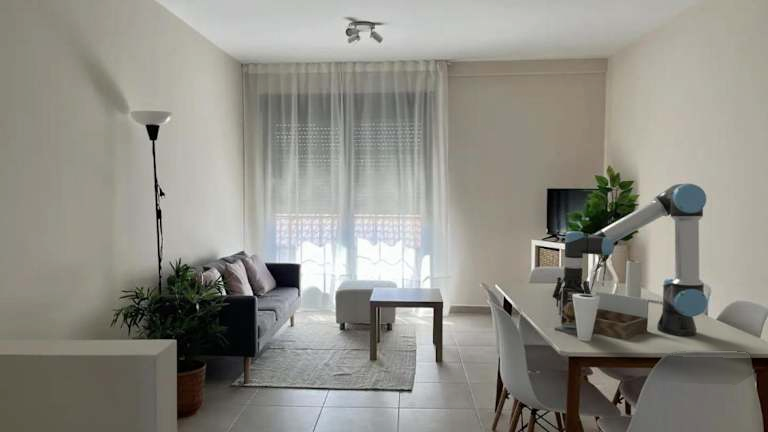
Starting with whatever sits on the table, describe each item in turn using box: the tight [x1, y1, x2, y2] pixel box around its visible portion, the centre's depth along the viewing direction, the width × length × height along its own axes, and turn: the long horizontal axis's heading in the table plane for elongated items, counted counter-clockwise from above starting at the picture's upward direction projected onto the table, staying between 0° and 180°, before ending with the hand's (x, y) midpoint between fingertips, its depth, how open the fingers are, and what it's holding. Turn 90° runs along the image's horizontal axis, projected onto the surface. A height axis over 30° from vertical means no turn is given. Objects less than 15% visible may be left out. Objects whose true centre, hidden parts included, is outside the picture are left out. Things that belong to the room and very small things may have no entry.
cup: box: [572, 293, 600, 342], centre depth 219 cm, size 11×11×18 cm
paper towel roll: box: [624, 260, 643, 298], centre depth 310 cm, size 7×6×21 cm
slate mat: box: [554, 325, 578, 336], centre depth 234 cm, size 10×10×1 cm
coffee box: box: [559, 286, 585, 327], centre depth 234 cm, size 9×6×16 cm
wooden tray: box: [592, 309, 649, 340], centre depth 237 cm, size 24×21×6 cm
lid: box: [595, 290, 649, 319], centre depth 244 cm, size 24×1×8 cm, turn 40°
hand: (571, 317), depth 234 cm, fingers closed on coffee box, 11 cm apart
